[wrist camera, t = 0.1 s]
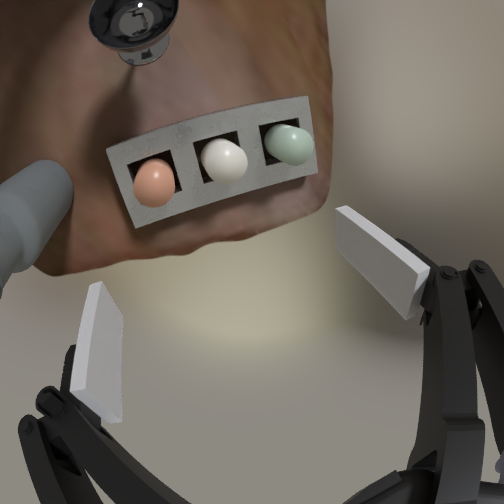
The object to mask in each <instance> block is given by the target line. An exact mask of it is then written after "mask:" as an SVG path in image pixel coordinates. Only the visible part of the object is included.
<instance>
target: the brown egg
mask: <svg viewBox="0 0 504 504" xmlns="http://www.w3.org/2000/svg"><path fill="white" fill-rule="evenodd" d="M133 191H134V195H135V197H136V199H137V200H138V201H139V202H140V203H141V204H142V205H144V206H147V207H152V208H155V207H160V206H163V205H164V204H166V203H167V202H168V201H169V200H170V199H171V198H172V196H173V194H174V191H175V182H174V176H173V171H172V168H171V166H170V165H169V164H168V163H167V162H166V161H164V160H162V159H150V160H147V161H145V162H144V163H143V164H142V165H141V166H140V167H139V169H138V172H137V175H136V178H135V181H134V185H133Z"/></svg>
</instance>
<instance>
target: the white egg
mask: <svg viewBox="0 0 504 504" xmlns="http://www.w3.org/2000/svg"><path fill="white" fill-rule="evenodd" d="M201 162H202V165H203V167H204V168H205V170H206V171H207V173H208V175H209V176H210V177H211V179H212V180H214V181H215V182H217V183H220V184H232V183H234V182H236V181H238V180H239V179H241V178H242V177H243V175H244V174H245V172H246V170H247V165H248V161H247V156H246V154H245V152H244V151H243V150H242V149H241V148H240V147H238V146H237V145H235V144H233V143H232V142H230V141H228V140H226V139H221V138H219V139H214V140H212V141H210V142H208V143H207V144H206V145H205V146H204V148H203V150H202V152H201Z"/></svg>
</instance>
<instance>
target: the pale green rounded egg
mask: <svg viewBox="0 0 504 504" xmlns="http://www.w3.org/2000/svg"><path fill="white" fill-rule="evenodd" d="M264 145H265V148H266V150H267V152H268V153H269V154H270V155H272V156H274V157H275V158H277V159H279V160H281V161H283V162H284V163H286V164H288V165H291V166H298V165H301V164H303V163H305V162H306V161H307V160H308V159H309V158H310V157H311V155H312V152H313V148H314V144H313V139H312V137H311V135H310V134H309V133H308V132H307V131H305V130H303V129H301V128H297V127H293V126H289V125H286V124H277V125H274V126H273V127H271V128H270V129H269V130H268V131H267V133H266V135H265V138H264Z"/></svg>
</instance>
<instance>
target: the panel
mask: <svg viewBox="0 0 504 504" xmlns="http://www.w3.org/2000/svg"><path fill="white" fill-rule="evenodd" d="M288 119H290V121H291V126H293V127H297V128H301V129H303V130H305V131H307V132H308V133H309V134H310V135H311V137H312V139H313V144H314V148H313V152H312V155H311V157H310V158H309V159H308V160H307V161H306V162H305V163H303V164H301V165H298V166H291V165H288V164H286V163H284V162H283V161H281V160H279V159H277V158H271V159H267V160H265V158H264V153H263V147H262V142H261V137H260V131H259V126H258V125H263V124H267V123H272V122H277V121H282V120H288ZM228 132H233V136H234V141H235V145H237V146H238V147H240V148H241V149H242V150H243V151H244V152H245V154H246V156H247V161H248V165H247V170H246V172H245V174H244V175H243V177H242V178H241V179H239V180H238V181H236V182H234V183H232V184H220V183H217V182H215V181H214V180H212V179H211V177H210V176H206V177H203V178H202V176H201V172H200V169H199V165H198V161H197V157H196V154H195V150H194V146H193V142H196V141H199V140H202V139H206V138H210V137H213V136H217V135H221V134H225V133H228ZM167 150H170V151H171V154H172V157H173V161H174V164H175V168H176V171H177V174H178V178H179V181H180V184H181V185H178V186H175V191H174V194H173V196H172V198H171V199H170V200H169V201H168V202H167V203H166V204H164V205H163V206H160V207H155V208H152V207H147V206H144V205H142V204H141V203H140V202H139V201H138V200H137V199H136V197H135V195H134V191H133V185H134V181H135V176H134V173H133V170H132V167H131V164H130V163H132V162H135V161H138V160H141V159H143V158H146V157H149V156H152V155H155V154H158V153H161V152H164V151H167ZM106 152H107V155H108V158H109V161H110V163H111V166H112V169H113V172H114V175H115V178H116V180H117V183H118V186H119V188H120V191H121V194H122V196H123V199H124V202H125V204H126V207H127V209H128V212H129V214H130V217H131V219H132V221H133V224H134V226H135V229H136V228H139V227H142V226H144V225H147V224H150V223H153V222H156V221H158V220H161V219H164V218H167V217H170V216H173V215H176V214H179V213H182V212H185V211H188V210H191V209H194V208H197V207H200V206H203V205H206V204H209V203H213V202H216V201H219V200H222V199H225V198H229V197H232V196H235V195H239V194H242V193H245V192H249V191H252V190H256V189H259V188H263V187H266V186H270V185H273V184H277V183H280V182H284V181H288V180H292V179H295V178H299V177H303V176H307V175H311V174H315V173H318V169H317V160H316V151H315V143H314V135H313V127H312V120H311V113H310V106H309V100H308V96H302V95H298V96H291V97H284V98H278V99H272V100H266V101H261V102H255V103H250V104H245V105H241V106H236V107H232V108H227V109H223V110H219V111H215V112H211V113H207V114H203V115H199V116H196V117H192V118H189V119H185V120H182V121H178V122H175V123H172V124H169V125H165V126H162V127H159V128H156V129H153V130H150V131H147V132H145V133H142V134H139V135H136V136H133V137H131V138H128V139H125V140H123V141H120V142H118V143H115V144H113V145H110V146H109V147H108V148H107V149H106Z"/></svg>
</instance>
